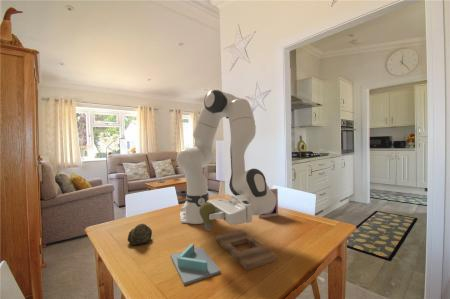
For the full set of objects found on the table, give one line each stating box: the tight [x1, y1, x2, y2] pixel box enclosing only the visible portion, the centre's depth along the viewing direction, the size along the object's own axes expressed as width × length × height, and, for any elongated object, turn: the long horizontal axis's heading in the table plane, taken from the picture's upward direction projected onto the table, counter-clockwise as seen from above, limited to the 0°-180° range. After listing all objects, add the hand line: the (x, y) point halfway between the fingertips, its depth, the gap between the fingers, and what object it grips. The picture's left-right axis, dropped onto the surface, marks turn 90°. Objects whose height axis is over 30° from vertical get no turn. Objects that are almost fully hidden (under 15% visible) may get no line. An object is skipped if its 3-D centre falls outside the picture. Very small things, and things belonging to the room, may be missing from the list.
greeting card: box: [258, 188, 279, 219], centre depth 120 cm, size 11×7×15 cm, turn 104°
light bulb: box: [199, 202, 215, 232], centre depth 76 cm, size 6×6×10 cm
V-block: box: [169, 243, 222, 286], centre depth 74 cm, size 18×12×4 cm, turn 27°
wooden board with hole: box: [215, 229, 277, 271], centre depth 83 cm, size 24×12×2 cm, turn 27°
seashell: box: [127, 223, 153, 245], centre depth 93 cm, size 11×12×10 cm
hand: (205, 213), depth 76 cm, fingers closed on light bulb, 5 cm apart
